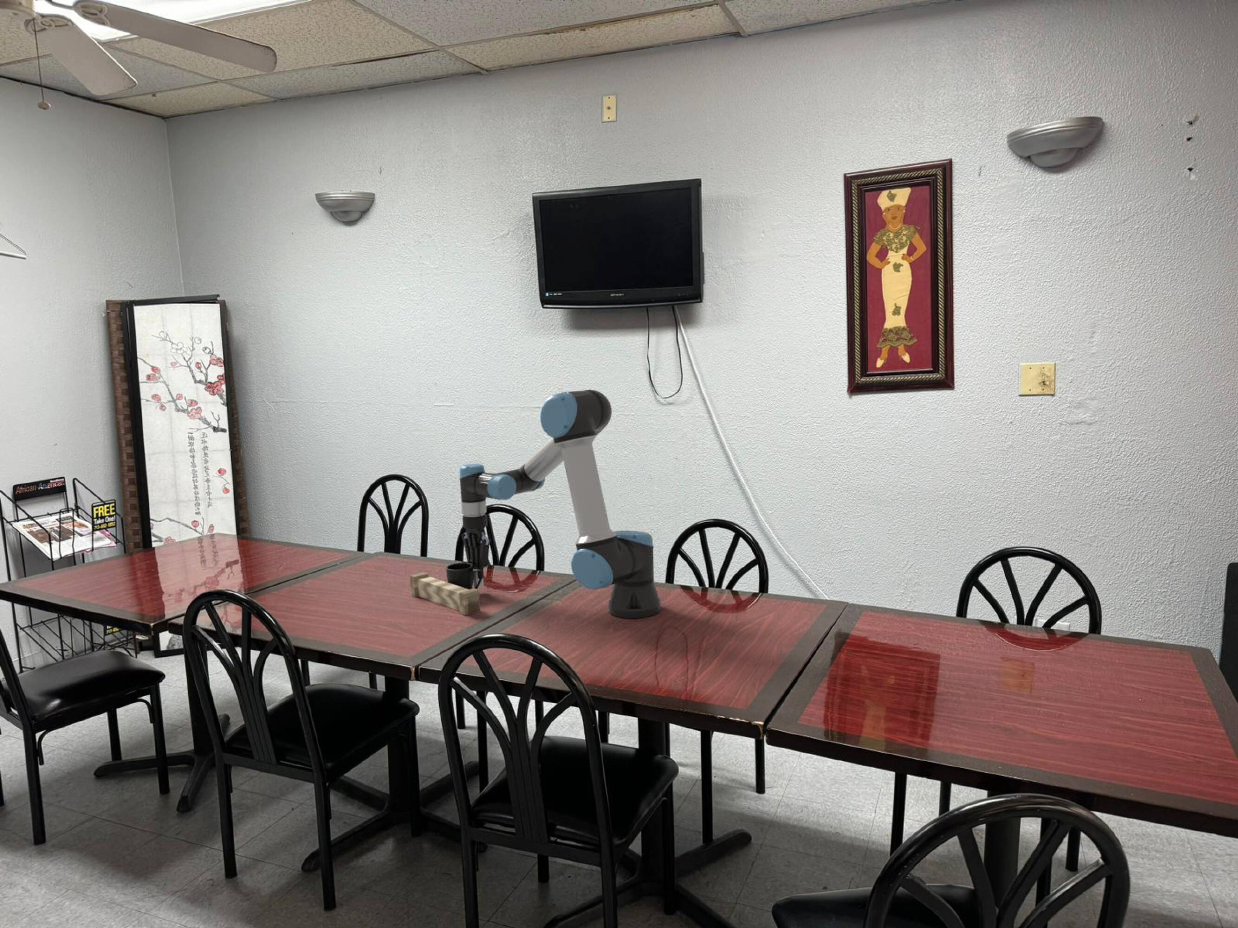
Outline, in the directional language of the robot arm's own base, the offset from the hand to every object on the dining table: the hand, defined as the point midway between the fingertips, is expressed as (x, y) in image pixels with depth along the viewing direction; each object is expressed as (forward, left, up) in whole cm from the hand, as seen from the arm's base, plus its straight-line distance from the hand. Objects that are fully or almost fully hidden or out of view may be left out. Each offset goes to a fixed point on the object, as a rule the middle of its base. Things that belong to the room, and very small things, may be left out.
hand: (479, 587), depth 276 cm
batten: (0, +12, -2) cm, 13 cm away
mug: (0, +5, -2) cm, 5 cm away
